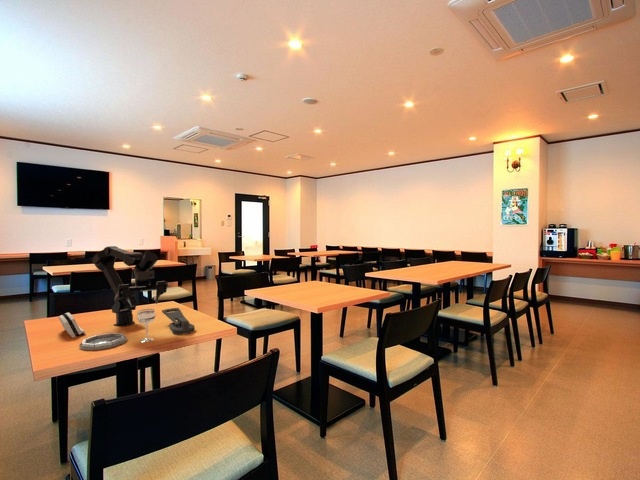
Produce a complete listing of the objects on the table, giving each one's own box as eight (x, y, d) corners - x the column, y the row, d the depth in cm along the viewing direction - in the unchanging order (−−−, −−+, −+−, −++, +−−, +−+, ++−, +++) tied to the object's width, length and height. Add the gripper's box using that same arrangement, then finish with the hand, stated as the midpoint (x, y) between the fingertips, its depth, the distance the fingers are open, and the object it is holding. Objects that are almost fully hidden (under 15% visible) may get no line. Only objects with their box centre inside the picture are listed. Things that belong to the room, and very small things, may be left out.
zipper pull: (179, 307, 170) (196, 316, 150) (179, 320, 170) (197, 332, 150) (160, 309, 164) (175, 320, 144) (160, 323, 164) (175, 336, 145)
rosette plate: (68, 348, 130) (68, 343, 130) (104, 335, 146) (104, 331, 146) (103, 352, 126) (103, 346, 126) (136, 338, 142) (136, 333, 142)
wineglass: (138, 338, 142) (137, 309, 141) (157, 336, 144) (156, 308, 144) (136, 343, 135) (135, 313, 135) (155, 341, 138) (154, 311, 137)
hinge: (86, 334, 148) (76, 314, 145) (74, 341, 145) (63, 320, 142) (78, 327, 160) (68, 308, 157) (66, 332, 157) (56, 313, 154)
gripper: (117, 265, 145) (118, 296, 135) (165, 262, 154) (170, 291, 145) (117, 282, 152) (119, 312, 142) (164, 278, 161) (168, 306, 152)
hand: (144, 304), depth 145 cm, fingers open, 9 cm apart
